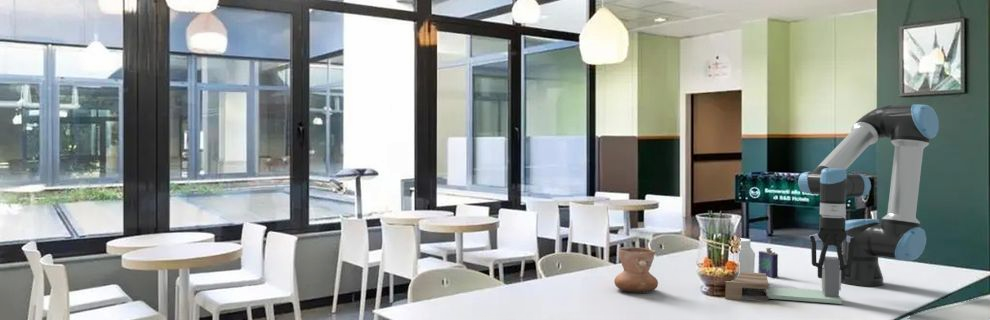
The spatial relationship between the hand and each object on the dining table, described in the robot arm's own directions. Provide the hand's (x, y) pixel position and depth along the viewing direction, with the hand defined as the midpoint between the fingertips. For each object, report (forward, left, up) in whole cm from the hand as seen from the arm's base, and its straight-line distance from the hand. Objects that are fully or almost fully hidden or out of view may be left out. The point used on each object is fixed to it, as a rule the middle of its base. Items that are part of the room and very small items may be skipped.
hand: (830, 288), depth 227 cm
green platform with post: (0, -8, -3) cm, 9 cm away
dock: (0, -26, -4) cm, 26 cm away
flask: (-37, -17, -4) cm, 41 cm away
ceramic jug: (+8, -61, -4) cm, 62 cm away
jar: (-24, -28, -4) cm, 37 cm away
